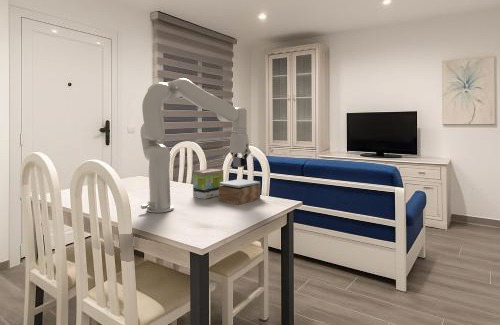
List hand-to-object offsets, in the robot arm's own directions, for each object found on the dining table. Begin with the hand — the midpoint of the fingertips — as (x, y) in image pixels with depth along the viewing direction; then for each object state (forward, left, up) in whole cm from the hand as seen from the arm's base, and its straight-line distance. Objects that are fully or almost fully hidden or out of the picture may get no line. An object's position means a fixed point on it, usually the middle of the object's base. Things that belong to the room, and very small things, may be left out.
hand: (239, 165), depth 186 cm
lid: (0, 0, -10) cm, 10 cm away
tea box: (-4, +20, -19) cm, 28 cm away
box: (0, 0, -19) cm, 19 cm away
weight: (0, 0, -1) cm, 1 cm away
